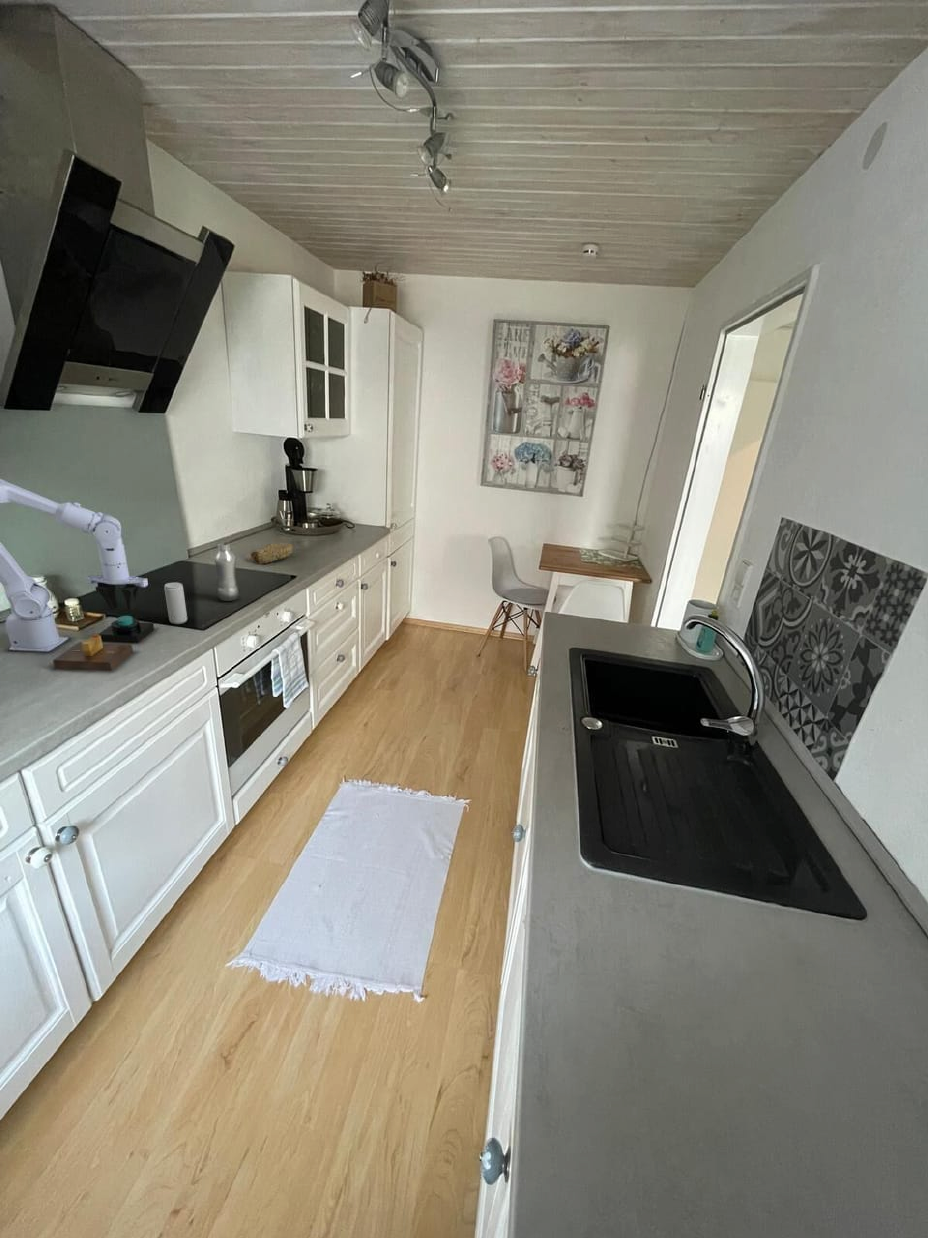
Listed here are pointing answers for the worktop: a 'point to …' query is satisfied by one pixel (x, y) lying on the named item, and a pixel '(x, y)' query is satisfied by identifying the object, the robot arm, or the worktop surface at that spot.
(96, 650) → the thumbturn
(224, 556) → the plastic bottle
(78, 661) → the plate
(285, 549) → the tan oblong lump
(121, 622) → the lock button
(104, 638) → the lock button box
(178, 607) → the beverage can
